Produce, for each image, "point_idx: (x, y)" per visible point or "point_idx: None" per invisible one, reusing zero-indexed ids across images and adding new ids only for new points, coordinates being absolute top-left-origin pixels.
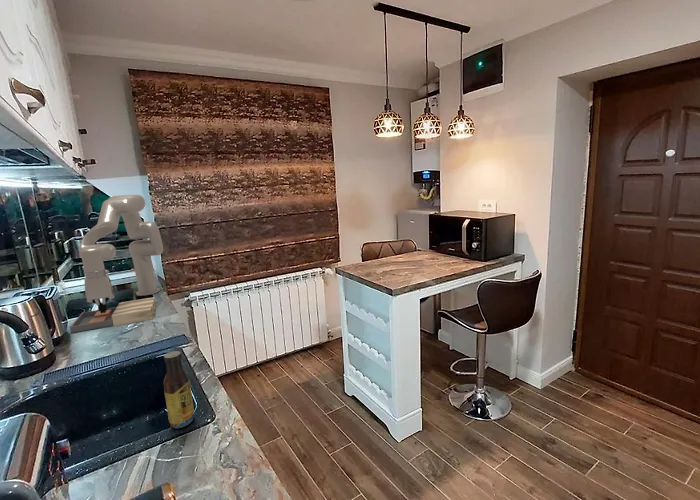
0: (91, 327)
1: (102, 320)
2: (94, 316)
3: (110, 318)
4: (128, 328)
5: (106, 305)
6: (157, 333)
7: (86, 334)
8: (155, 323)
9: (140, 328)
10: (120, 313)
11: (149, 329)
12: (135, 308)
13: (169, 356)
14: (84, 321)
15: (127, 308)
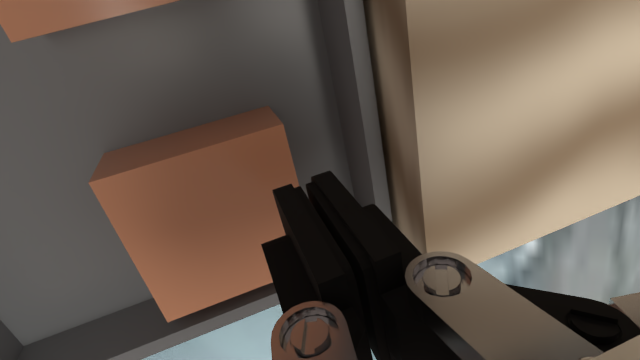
0: None
1: None
2: (20, 39)
3: (256, 6)
4: (489, 271)
5: (406, 241)
6: None
7: (218, 356)
8: (626, 211)
9: (552, 275)
10: (503, 226)
11: (591, 290)
12: (636, 84)
13: None
14: None
15: (560, 49)
